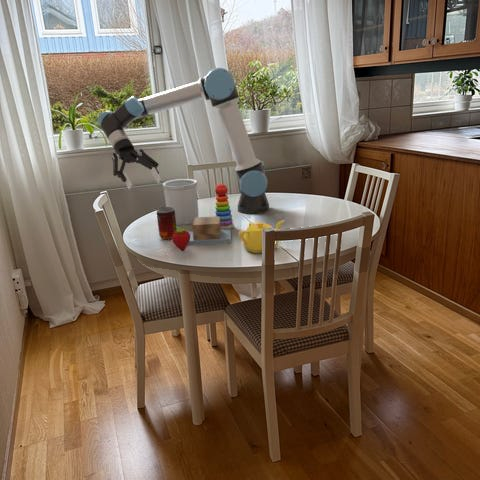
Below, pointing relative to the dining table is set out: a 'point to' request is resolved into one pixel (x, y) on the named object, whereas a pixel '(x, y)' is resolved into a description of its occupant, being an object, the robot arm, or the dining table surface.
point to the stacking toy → (223, 207)
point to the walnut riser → (206, 228)
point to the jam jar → (166, 222)
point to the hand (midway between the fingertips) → (145, 184)
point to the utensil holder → (182, 199)
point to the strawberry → (181, 238)
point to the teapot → (255, 236)
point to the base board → (224, 238)
